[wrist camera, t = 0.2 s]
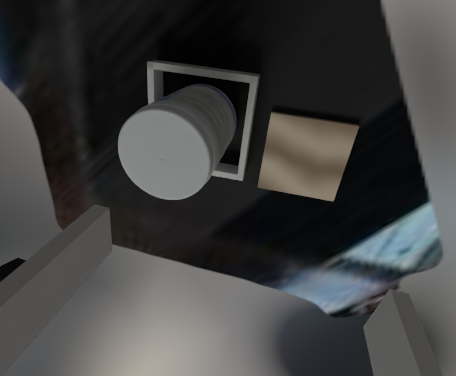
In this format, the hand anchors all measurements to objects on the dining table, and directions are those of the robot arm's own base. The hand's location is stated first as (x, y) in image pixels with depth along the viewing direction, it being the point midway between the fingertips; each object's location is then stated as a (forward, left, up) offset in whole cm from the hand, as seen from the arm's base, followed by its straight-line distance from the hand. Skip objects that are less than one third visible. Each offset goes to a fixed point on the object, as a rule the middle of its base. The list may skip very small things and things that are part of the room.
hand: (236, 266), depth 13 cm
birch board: (+4, +5, -28) cm, 28 cm away
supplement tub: (+1, -9, -28) cm, 29 cm away
